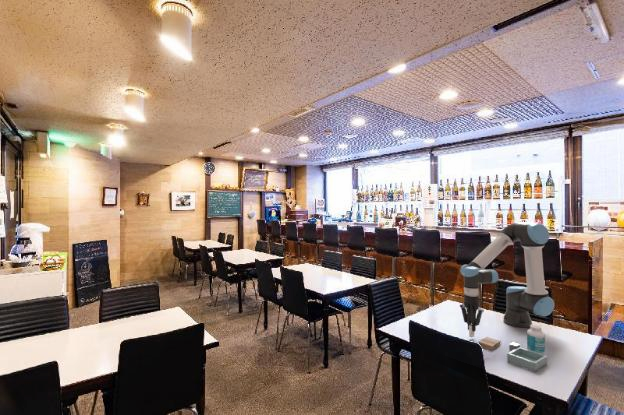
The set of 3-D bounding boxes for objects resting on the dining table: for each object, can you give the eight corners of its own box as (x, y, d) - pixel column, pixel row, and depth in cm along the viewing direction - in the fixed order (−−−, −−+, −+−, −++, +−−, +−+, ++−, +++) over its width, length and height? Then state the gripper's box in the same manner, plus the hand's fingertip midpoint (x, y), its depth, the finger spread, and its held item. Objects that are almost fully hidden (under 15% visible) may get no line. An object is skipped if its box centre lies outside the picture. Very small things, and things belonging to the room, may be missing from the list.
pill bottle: (537, 357, 154) (537, 330, 154) (523, 350, 161) (523, 324, 161) (548, 355, 156) (548, 328, 156) (534, 348, 163) (534, 323, 163)
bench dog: (513, 351, 160) (513, 342, 160) (519, 354, 157) (519, 344, 157) (509, 354, 158) (509, 344, 158) (516, 356, 155) (516, 346, 155)
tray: (518, 354, 157) (518, 346, 157) (547, 364, 147) (547, 356, 147) (507, 361, 150) (507, 353, 150) (535, 372, 140) (535, 363, 140)
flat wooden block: (486, 341, 174) (486, 336, 174) (500, 345, 168) (500, 341, 168) (478, 346, 168) (478, 341, 168) (492, 351, 162) (492, 346, 162)
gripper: (456, 293, 179) (457, 334, 180) (479, 298, 169) (479, 342, 169) (464, 291, 184) (464, 331, 184) (486, 296, 173) (487, 338, 173)
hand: (471, 336), depth 176 cm, fingers closed
